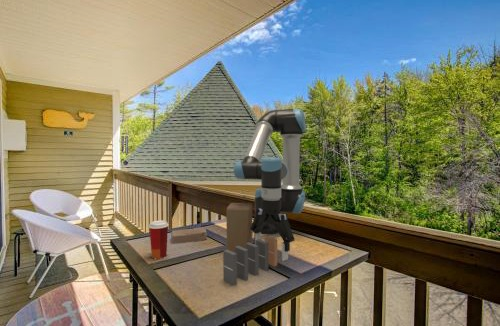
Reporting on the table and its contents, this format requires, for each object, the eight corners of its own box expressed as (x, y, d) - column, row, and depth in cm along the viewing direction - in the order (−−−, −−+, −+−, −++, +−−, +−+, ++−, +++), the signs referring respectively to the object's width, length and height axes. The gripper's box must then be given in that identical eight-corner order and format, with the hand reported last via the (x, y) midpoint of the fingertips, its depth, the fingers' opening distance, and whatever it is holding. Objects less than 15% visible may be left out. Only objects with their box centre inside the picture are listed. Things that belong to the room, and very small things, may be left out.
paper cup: (167, 251, 111) (166, 219, 111) (170, 258, 105) (170, 223, 104) (147, 254, 108) (147, 221, 107) (149, 261, 101) (149, 226, 100)
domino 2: (238, 273, 91) (238, 245, 91) (248, 278, 88) (248, 249, 87) (234, 275, 90) (234, 246, 90) (244, 280, 87) (244, 250, 86)
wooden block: (252, 247, 117) (252, 202, 116) (250, 256, 107) (250, 207, 106) (230, 246, 118) (230, 202, 117) (226, 255, 108) (226, 207, 107)
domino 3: (248, 269, 95) (248, 242, 94) (258, 274, 91) (258, 245, 91) (245, 270, 94) (245, 243, 93) (255, 275, 90) (255, 247, 90)
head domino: (274, 266, 97) (274, 240, 96) (264, 262, 100) (264, 237, 100) (277, 265, 98) (277, 239, 98) (267, 261, 102) (267, 236, 101)
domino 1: (227, 278, 88) (227, 249, 88) (236, 283, 84) (236, 253, 84) (223, 280, 87) (223, 250, 86) (232, 285, 83) (232, 254, 83)
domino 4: (258, 265, 98) (258, 239, 98) (268, 269, 95) (268, 242, 94) (255, 266, 97) (255, 240, 97) (265, 271, 93) (265, 243, 93)
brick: (171, 244, 121) (171, 234, 120) (171, 238, 128) (170, 229, 128) (207, 240, 126) (207, 231, 126) (204, 235, 134) (204, 226, 134)
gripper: (241, 195, 105) (241, 247, 106) (291, 205, 87) (291, 267, 87) (255, 193, 110) (255, 243, 111) (304, 202, 92) (304, 261, 93)
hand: (270, 254), depth 99 cm, fingers open, 13 cm apart
